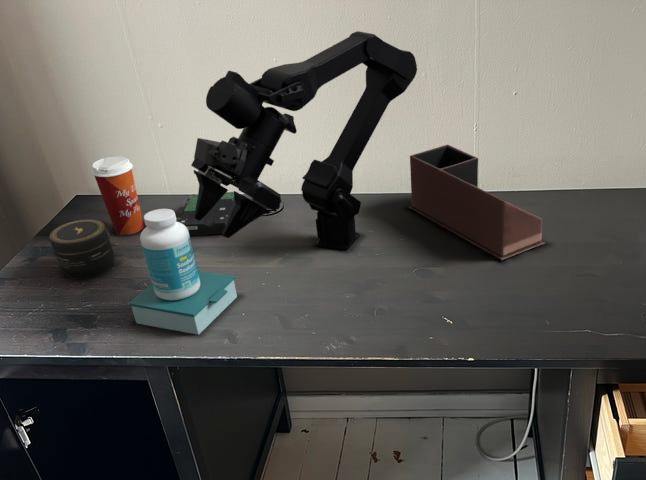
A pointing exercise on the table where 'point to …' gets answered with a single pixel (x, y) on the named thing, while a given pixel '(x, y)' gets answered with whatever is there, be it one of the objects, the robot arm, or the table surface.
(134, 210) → the paper cup
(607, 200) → the table surface
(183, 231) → the pill bottle
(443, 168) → the desk organizer
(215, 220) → the disk drive
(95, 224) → the jar
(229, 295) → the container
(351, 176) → the robot arm
